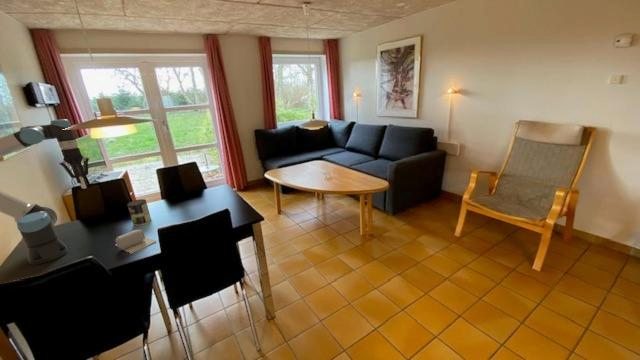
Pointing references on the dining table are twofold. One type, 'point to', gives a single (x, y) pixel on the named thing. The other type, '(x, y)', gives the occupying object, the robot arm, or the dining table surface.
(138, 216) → the coffee can
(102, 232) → the dining table surface
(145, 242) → the mat
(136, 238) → the can
